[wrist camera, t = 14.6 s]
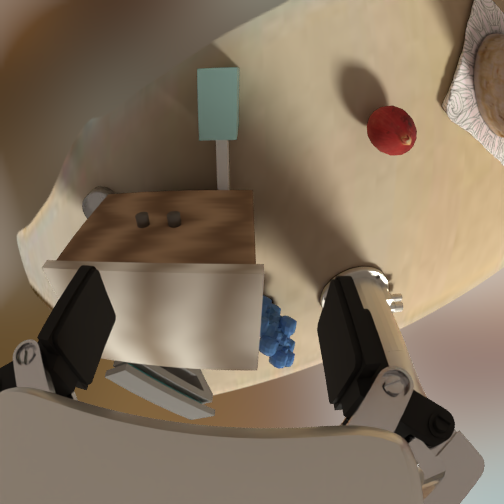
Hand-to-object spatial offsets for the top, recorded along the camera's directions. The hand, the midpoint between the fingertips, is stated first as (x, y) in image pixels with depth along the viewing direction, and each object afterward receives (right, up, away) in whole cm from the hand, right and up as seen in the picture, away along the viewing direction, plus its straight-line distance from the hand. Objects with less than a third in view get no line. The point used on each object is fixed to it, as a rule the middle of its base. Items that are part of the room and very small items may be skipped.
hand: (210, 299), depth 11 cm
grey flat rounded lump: (-19, +9, +25) cm, 33 cm away
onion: (+17, +18, +19) cm, 31 cm away
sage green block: (-2, +15, +21) cm, 25 cm away
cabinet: (-7, +7, +27) cm, 28 cm away
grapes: (+6, -7, +37) cm, 38 cm away
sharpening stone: (-17, -22, +49) cm, 57 cm away
